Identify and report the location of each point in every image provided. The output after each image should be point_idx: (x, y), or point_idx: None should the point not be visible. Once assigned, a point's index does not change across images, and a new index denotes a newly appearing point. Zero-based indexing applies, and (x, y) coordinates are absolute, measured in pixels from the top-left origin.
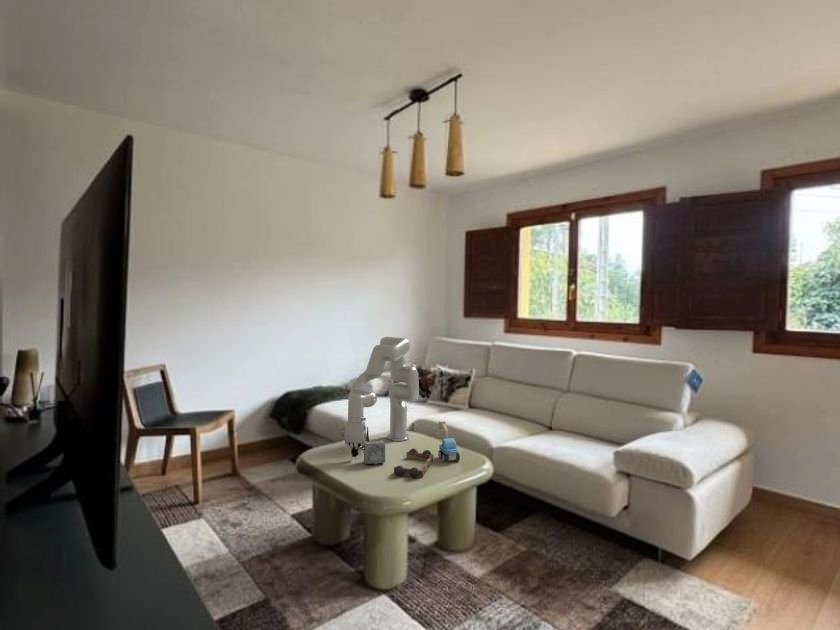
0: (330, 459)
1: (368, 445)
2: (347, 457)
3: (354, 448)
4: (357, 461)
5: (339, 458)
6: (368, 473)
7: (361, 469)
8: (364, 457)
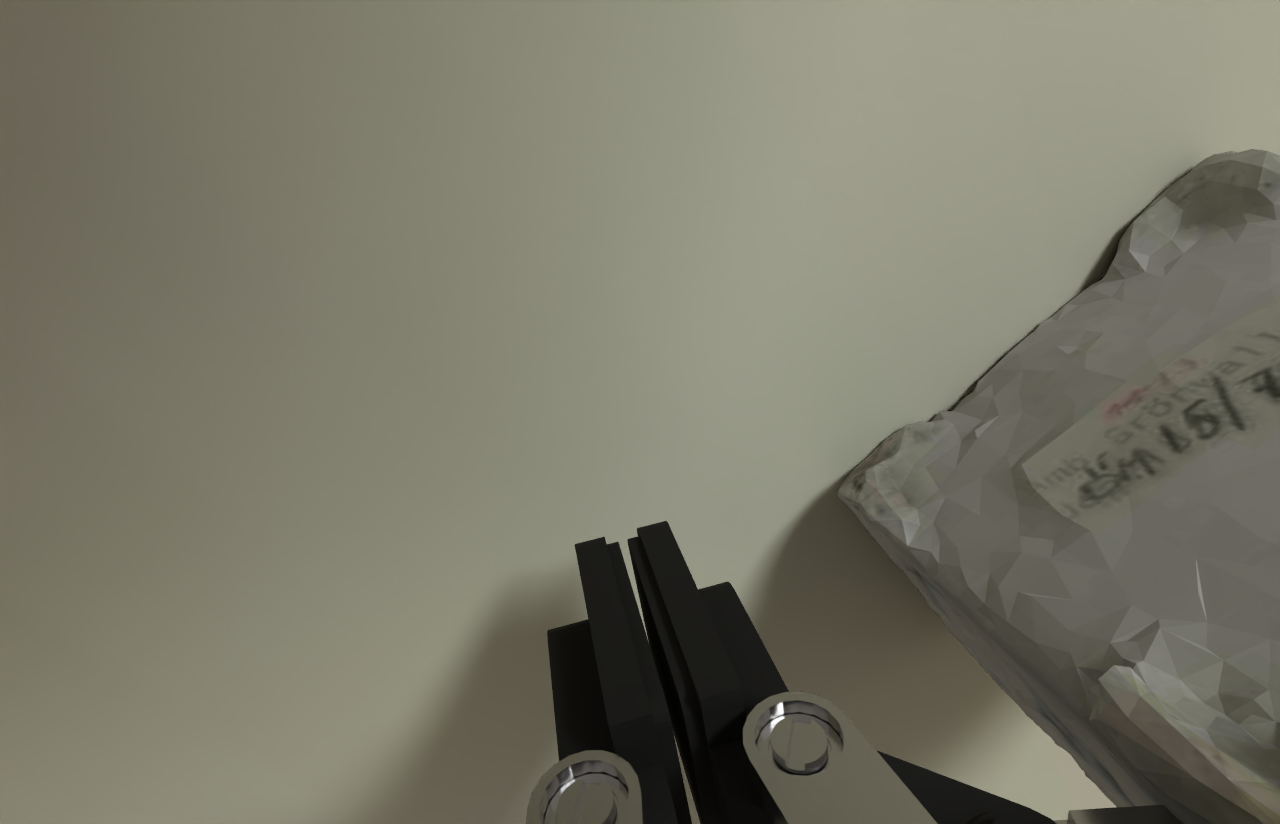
0: (63, 772)
1: None
2: (320, 475)
3: (680, 804)
4: (703, 545)
5: (195, 626)
6: (1074, 790)
7: (935, 756)
8: (956, 625)
